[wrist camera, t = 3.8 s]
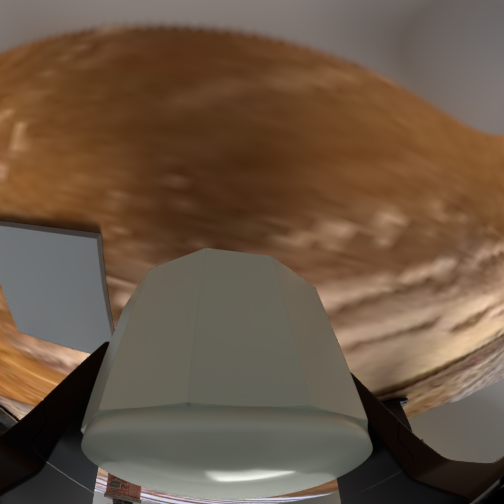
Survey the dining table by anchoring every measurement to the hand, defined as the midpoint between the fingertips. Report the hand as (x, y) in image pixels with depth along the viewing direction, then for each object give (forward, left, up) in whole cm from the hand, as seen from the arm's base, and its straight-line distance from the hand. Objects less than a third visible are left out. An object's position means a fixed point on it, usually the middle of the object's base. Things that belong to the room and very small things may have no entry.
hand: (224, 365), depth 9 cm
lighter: (-39, +12, -6) cm, 41 cm away
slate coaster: (-3, +11, -6) cm, 13 cm away
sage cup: (0, 0, -1) cm, 1 cm away
